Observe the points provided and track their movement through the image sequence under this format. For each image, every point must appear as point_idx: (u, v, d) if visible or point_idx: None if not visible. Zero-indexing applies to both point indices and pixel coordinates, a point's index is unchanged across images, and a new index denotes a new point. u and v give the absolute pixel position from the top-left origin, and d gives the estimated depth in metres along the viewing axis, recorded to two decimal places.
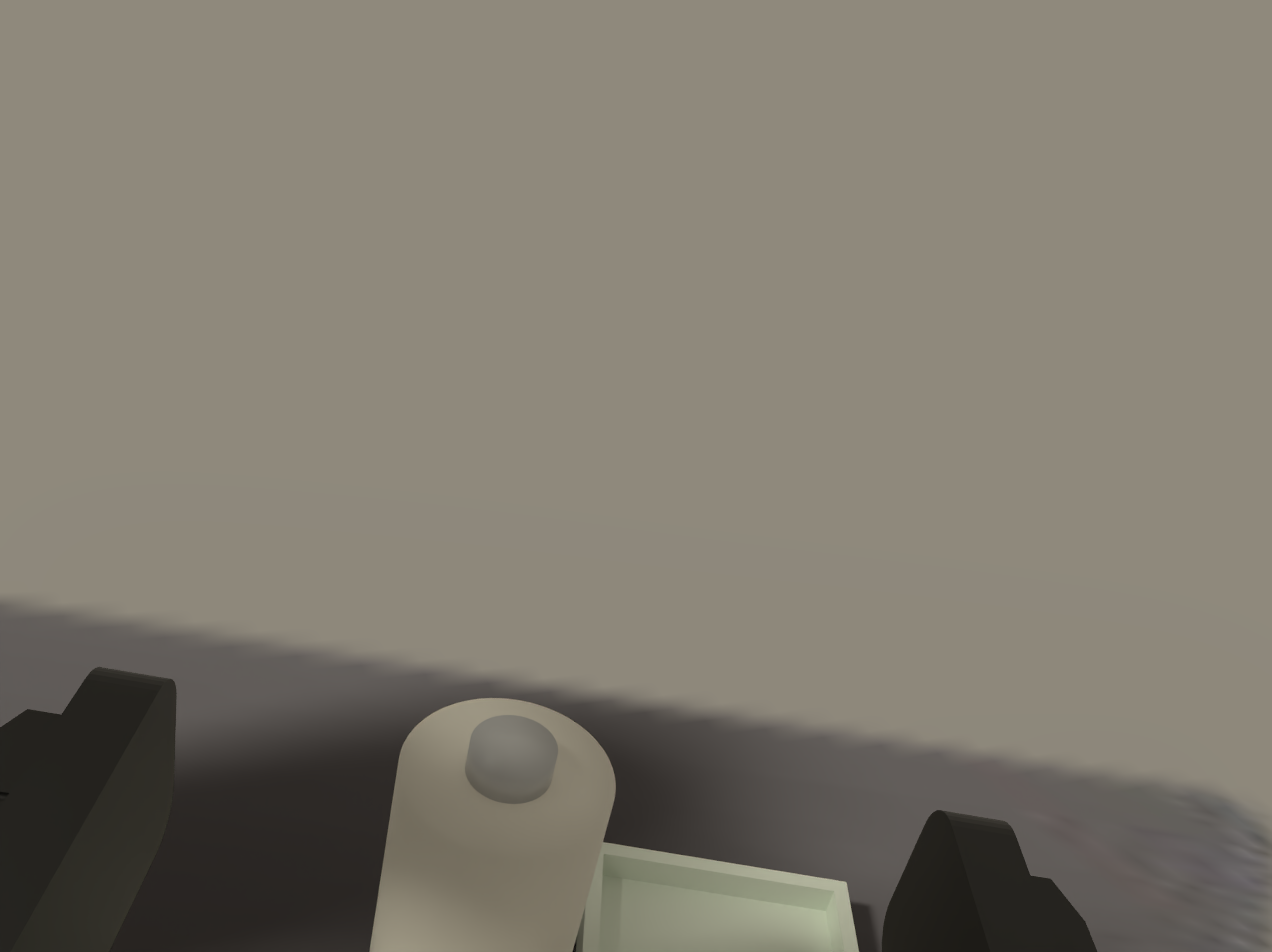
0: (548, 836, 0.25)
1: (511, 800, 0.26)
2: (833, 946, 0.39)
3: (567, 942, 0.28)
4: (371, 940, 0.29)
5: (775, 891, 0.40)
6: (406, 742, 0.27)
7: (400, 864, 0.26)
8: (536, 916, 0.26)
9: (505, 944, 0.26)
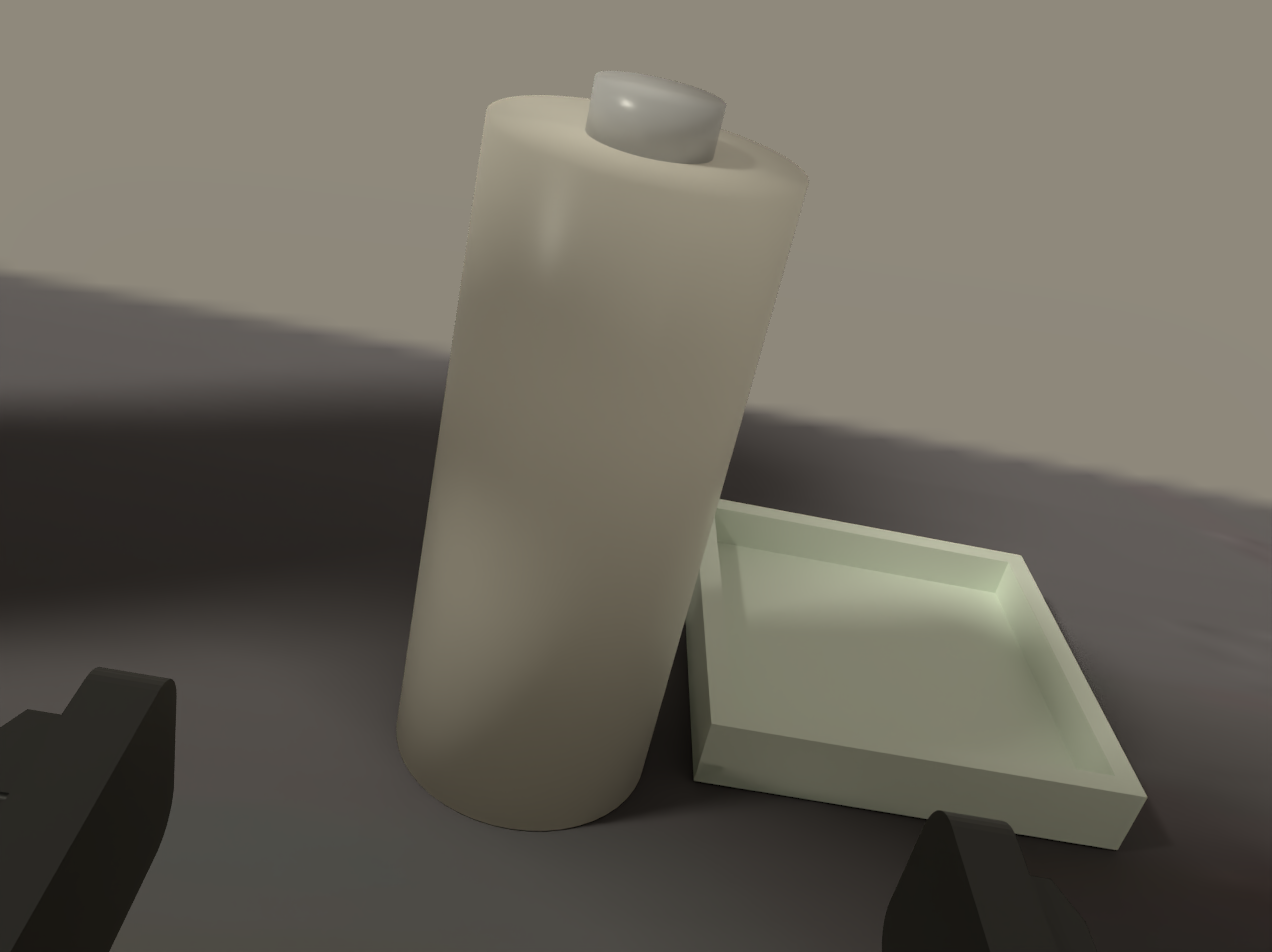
0: (723, 187, 0.16)
1: (662, 151, 0.17)
2: (1014, 622, 0.30)
3: (730, 425, 0.19)
4: (436, 457, 0.20)
5: (932, 563, 0.31)
6: (495, 103, 0.18)
7: (490, 262, 0.17)
8: (699, 331, 0.17)
9: (651, 378, 0.17)
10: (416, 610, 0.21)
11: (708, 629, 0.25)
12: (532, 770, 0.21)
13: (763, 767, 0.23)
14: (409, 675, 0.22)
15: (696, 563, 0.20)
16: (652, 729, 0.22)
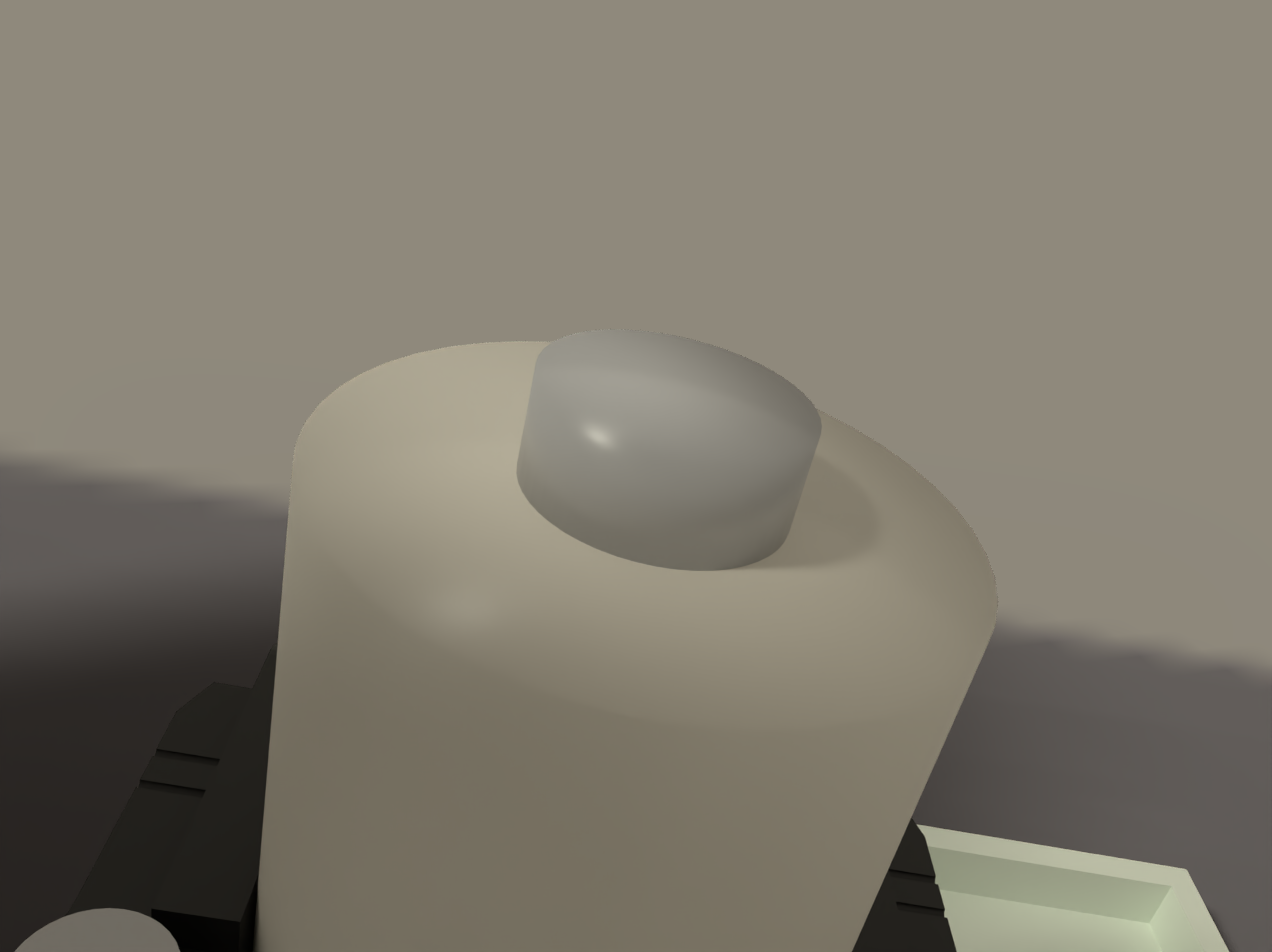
0: (829, 668, 0.07)
1: (683, 555, 0.07)
2: None
3: None
4: None
5: (1062, 887, 0.21)
6: (328, 403, 0.09)
7: (302, 784, 0.08)
8: None
9: None
10: None
11: None
12: None
13: None
14: None
15: None
16: None
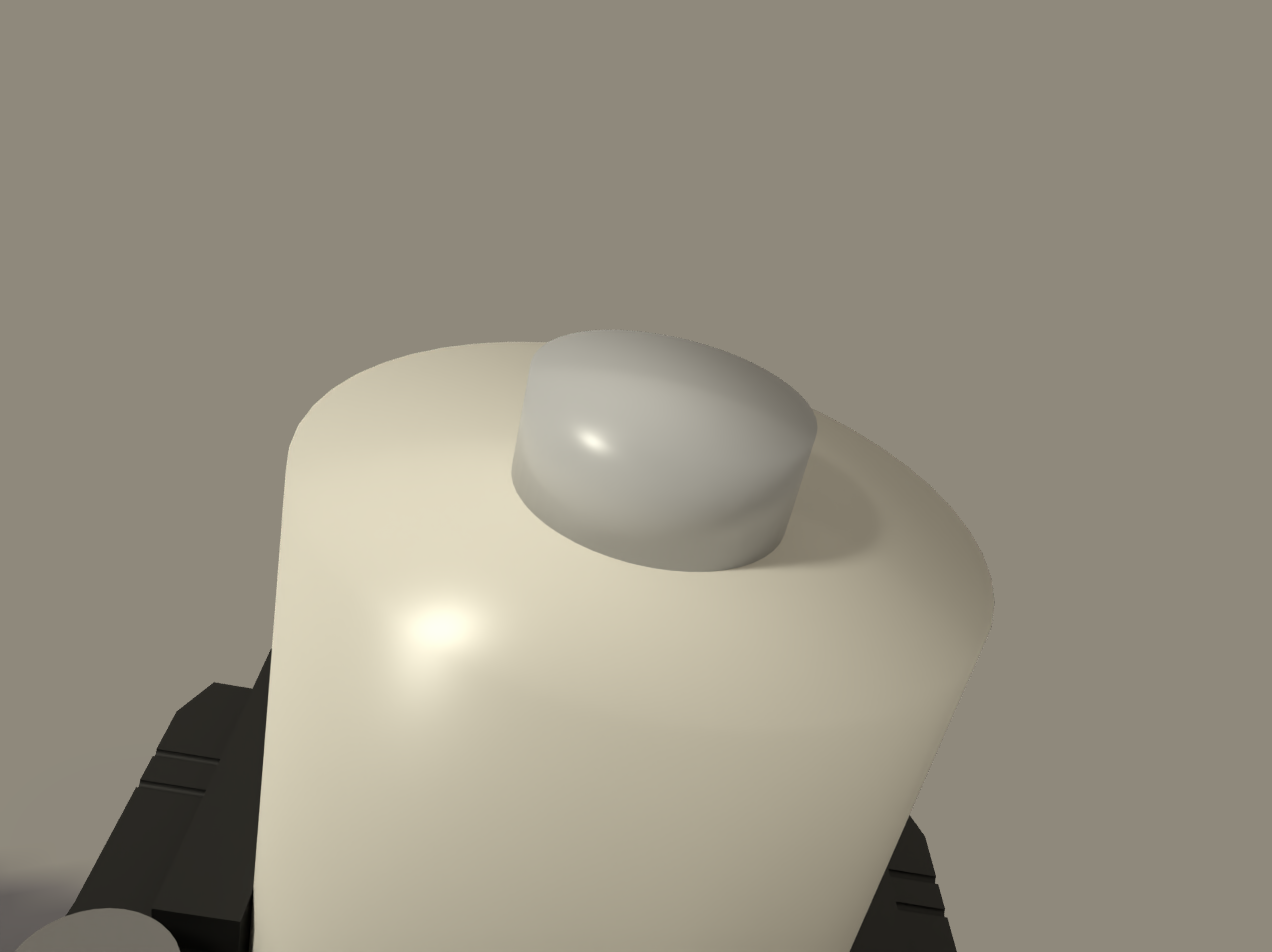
0: (825, 668, 0.07)
1: (678, 556, 0.07)
2: None
3: None
4: None
5: None
6: (323, 404, 0.08)
7: (296, 786, 0.08)
8: None
9: None
10: None
11: None
12: None
13: None
14: None
15: None
16: None
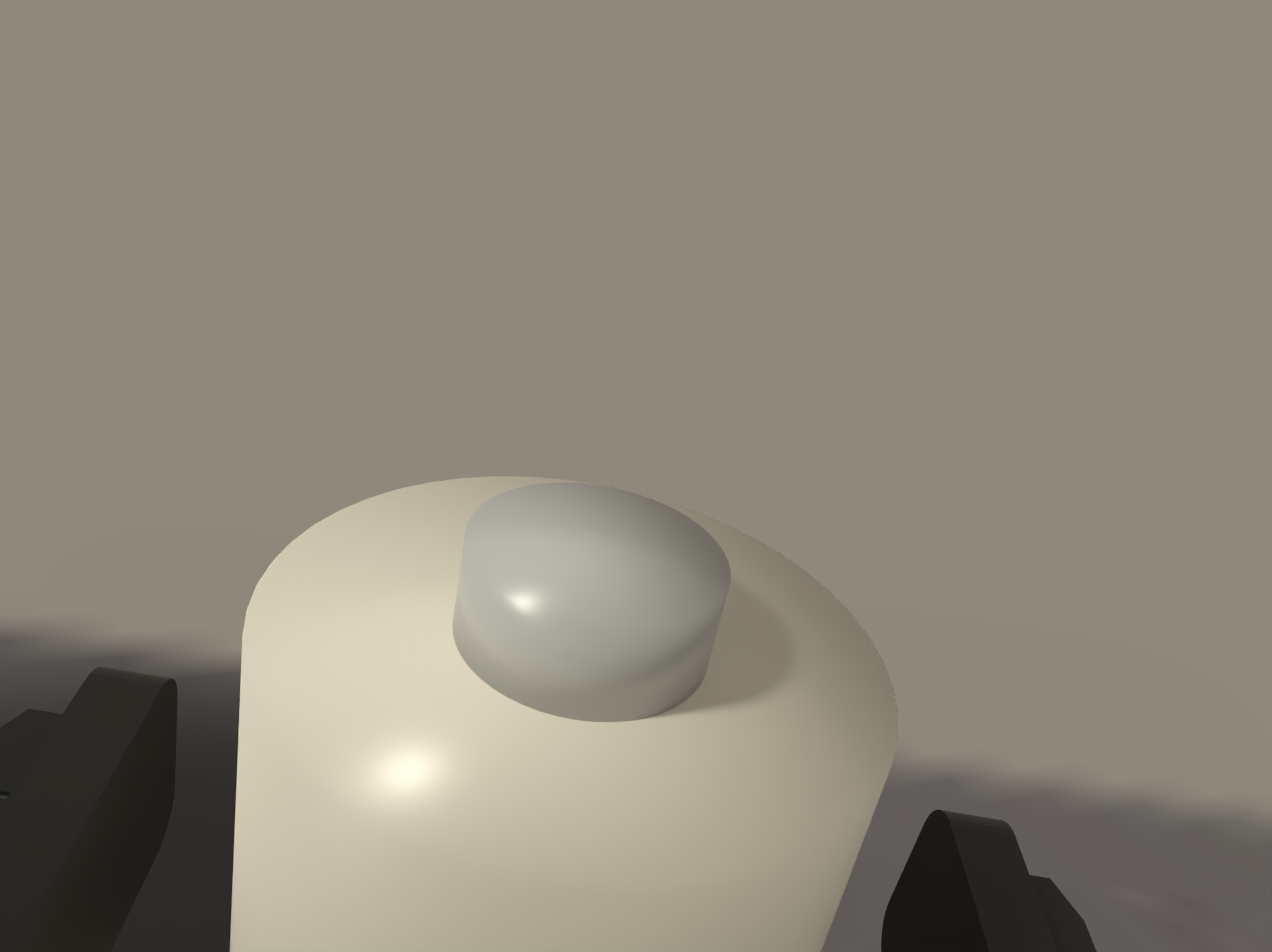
0: (729, 818, 0.08)
1: (599, 710, 0.08)
2: None
3: None
4: None
5: None
6: (280, 560, 0.09)
7: (257, 922, 0.08)
8: None
9: None
10: None
11: None
12: None
13: None
14: None
15: None
16: None
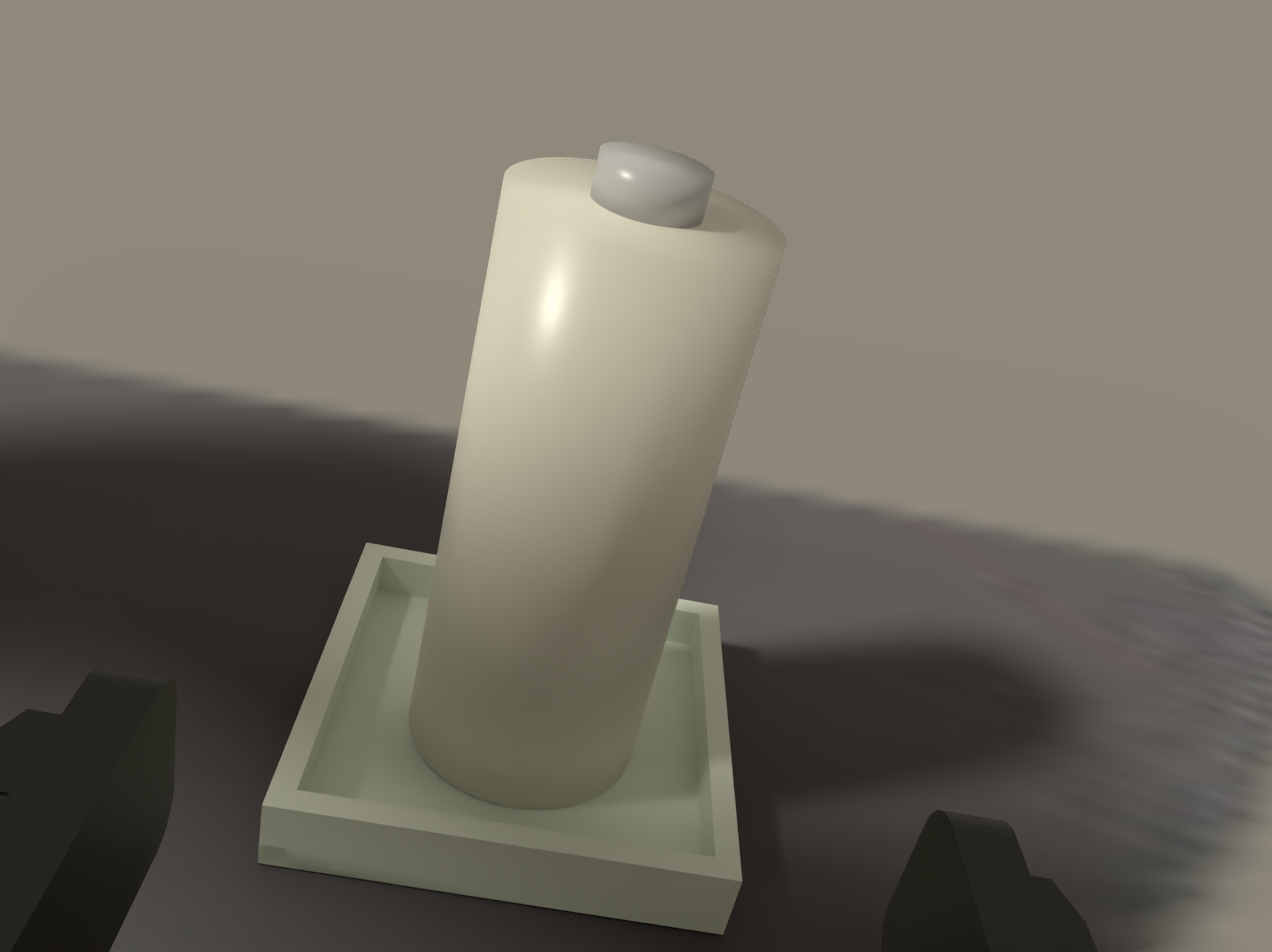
0: (708, 252, 0.19)
1: (656, 217, 0.19)
2: (694, 679, 0.28)
3: (712, 455, 0.21)
4: (451, 475, 0.23)
5: None
6: (511, 168, 0.20)
7: (504, 310, 0.20)
8: (684, 375, 0.19)
9: (641, 416, 0.20)
10: (430, 609, 0.24)
11: (309, 696, 0.24)
12: (530, 755, 0.23)
13: (327, 849, 0.22)
14: (422, 667, 0.24)
15: (680, 575, 0.23)
16: (639, 722, 0.25)
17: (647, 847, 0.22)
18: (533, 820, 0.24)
